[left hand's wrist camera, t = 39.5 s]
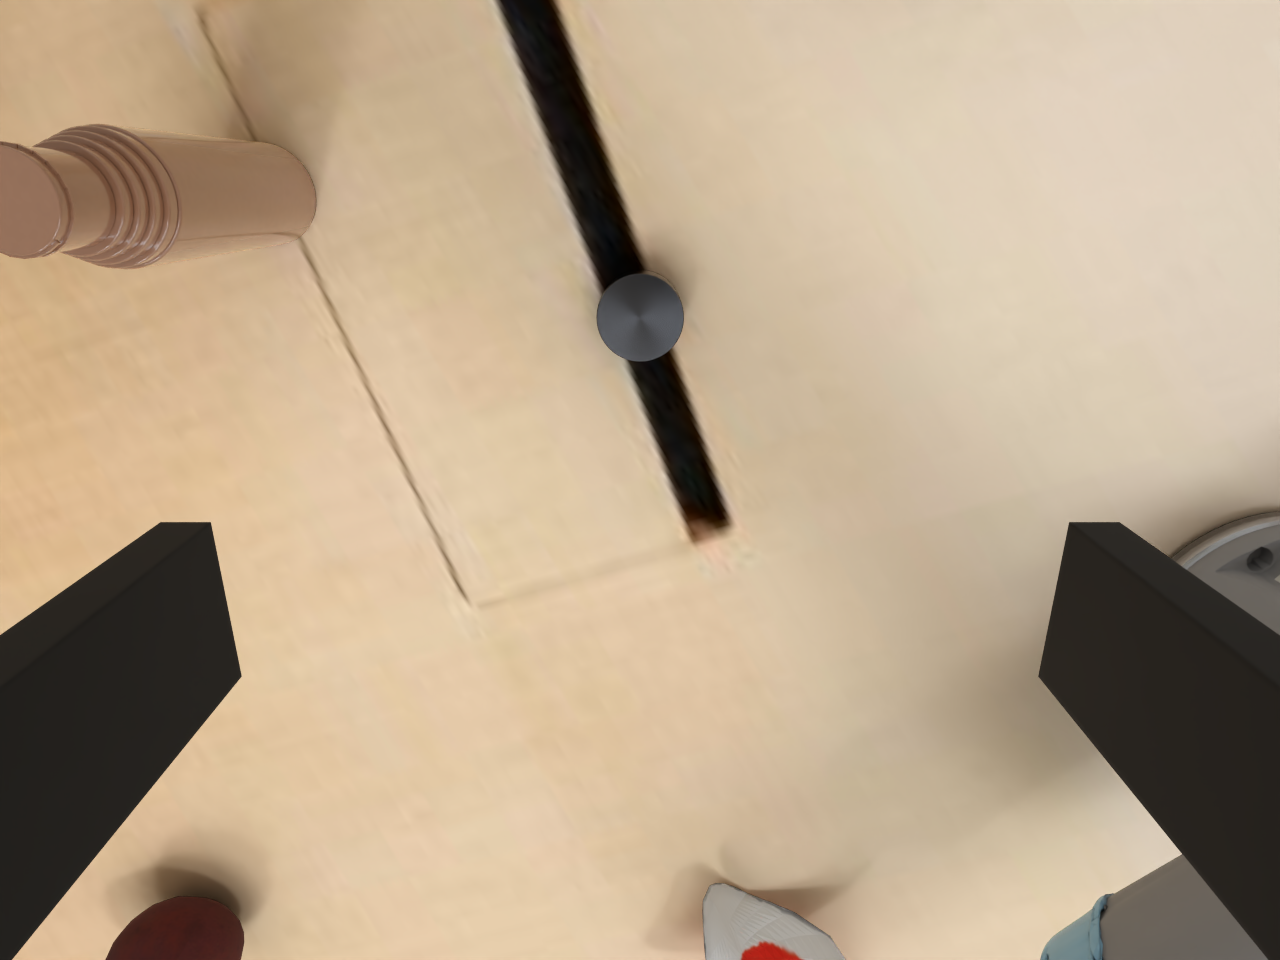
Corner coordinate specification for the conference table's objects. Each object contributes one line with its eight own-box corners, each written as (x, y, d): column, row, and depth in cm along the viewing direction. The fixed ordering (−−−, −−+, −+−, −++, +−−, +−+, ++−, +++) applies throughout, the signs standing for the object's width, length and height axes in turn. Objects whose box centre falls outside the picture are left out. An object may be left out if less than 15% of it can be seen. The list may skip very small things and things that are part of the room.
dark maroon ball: (127, 884, 53) (54, 983, 47) (233, 858, 53) (175, 955, 46) (179, 962, 56) (117, 1066, 49) (281, 938, 55) (232, 1042, 48)
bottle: (198, 183, 38) (-115, 182, 23) (267, 120, 38) (-8, 73, 22) (268, 264, 40) (19, 317, 24) (336, 205, 39) (125, 220, 23)
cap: (653, 368, 42) (653, 377, 40) (583, 325, 41) (580, 332, 39) (697, 298, 40) (700, 304, 38) (626, 252, 40) (626, 256, 38)
